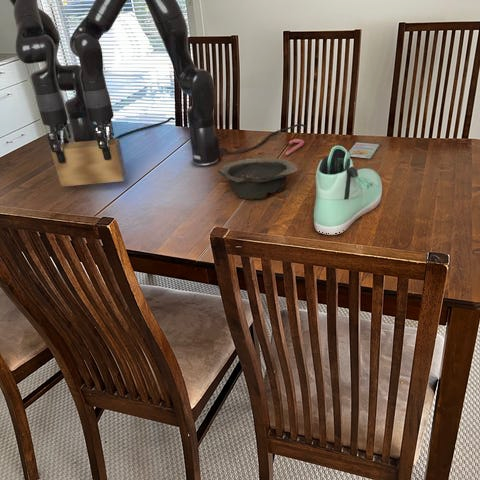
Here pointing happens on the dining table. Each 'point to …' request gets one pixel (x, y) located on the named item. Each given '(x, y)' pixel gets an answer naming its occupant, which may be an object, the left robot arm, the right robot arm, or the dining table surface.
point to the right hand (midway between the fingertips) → (110, 155)
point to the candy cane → (295, 146)
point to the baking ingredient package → (363, 150)
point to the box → (89, 163)
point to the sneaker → (343, 192)
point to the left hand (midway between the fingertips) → (65, 158)
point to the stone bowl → (257, 176)
